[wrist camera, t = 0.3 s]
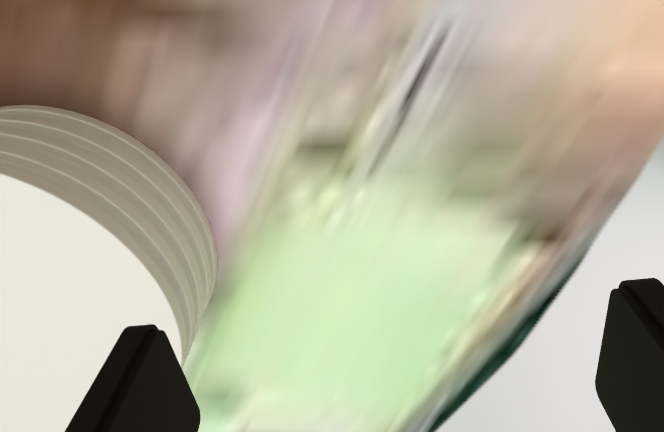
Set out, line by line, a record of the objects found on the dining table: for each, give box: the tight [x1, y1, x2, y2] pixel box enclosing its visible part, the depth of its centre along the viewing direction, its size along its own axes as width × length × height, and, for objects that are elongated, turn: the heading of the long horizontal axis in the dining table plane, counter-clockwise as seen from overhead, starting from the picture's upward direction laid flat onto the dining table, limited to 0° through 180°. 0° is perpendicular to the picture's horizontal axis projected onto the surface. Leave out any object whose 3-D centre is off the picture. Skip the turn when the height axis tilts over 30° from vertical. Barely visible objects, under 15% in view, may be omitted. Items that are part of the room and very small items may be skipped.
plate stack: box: [0, 105, 217, 432], centre depth 42 cm, size 28×28×12 cm
